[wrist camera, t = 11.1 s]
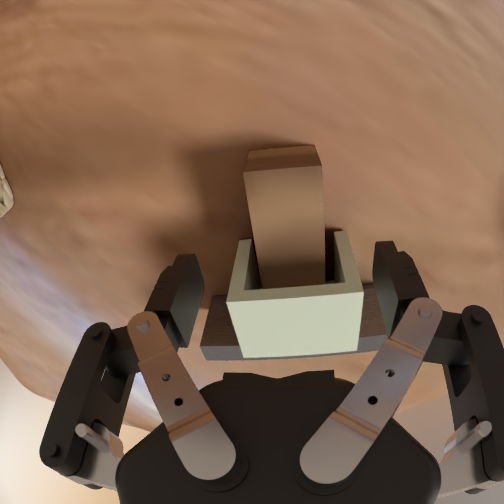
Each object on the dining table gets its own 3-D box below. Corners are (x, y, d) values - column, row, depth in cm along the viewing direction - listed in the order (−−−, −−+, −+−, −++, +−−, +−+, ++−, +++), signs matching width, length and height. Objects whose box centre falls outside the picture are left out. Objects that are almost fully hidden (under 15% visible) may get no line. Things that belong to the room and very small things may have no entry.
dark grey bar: (212, 295, 29) (199, 346, 24) (384, 282, 27) (400, 332, 22) (224, 330, 32) (215, 378, 27) (378, 319, 30) (390, 367, 25)
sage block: (239, 240, 25) (226, 302, 19) (346, 230, 24) (363, 291, 18) (251, 295, 28) (243, 357, 23) (345, 287, 27) (356, 350, 21)
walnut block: (249, 149, 21) (242, 172, 18) (314, 143, 21) (321, 165, 17) (269, 281, 28) (267, 318, 24) (320, 277, 27) (324, 315, 24)
